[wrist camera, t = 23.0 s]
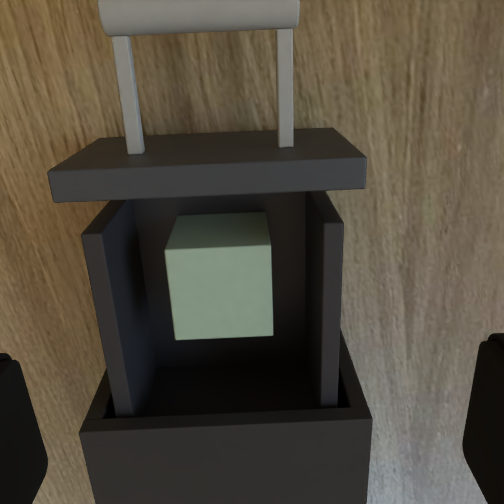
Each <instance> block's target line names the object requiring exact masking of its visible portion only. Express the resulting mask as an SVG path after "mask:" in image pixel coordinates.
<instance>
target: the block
mask: <svg viewBox="0 0 504 504" xmlns="http://www.w3.org/2000/svg"><path fill="white" fill-rule="evenodd" d="M164 254H165V262H166V270H167V278H168V286H169V295H170V303H171V311H172V319H173V327H174V335H175V340H190V339H212V338H234V337H255V336H272V335H273V299H272V263H271V242H270V236H269V229H268V222H267V215H266V212H250V213H228V214H206V215H184V216H177V218H176V221H175V224H174V226H173V229H172V231H171V234H170V237H169V239H168V242H167V245H166V247H165V250H164Z"/></svg>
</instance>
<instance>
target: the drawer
mask: <svg viewBox="0 0 504 504" xmlns="http://www.w3.org/2000/svg"><path fill="white" fill-rule="evenodd" d="M97 6H98V13H99V18H100V22H101V25H102V28H103V30H104V32H105V34H106V35H107V36H112V38H111V40H112V47H113V54H114V61H115V68H116V75H117V82H118V89H119V96H120V103H121V110H122V117H123V124H124V131H125V137H113V138H99V139H97V140H96V141H94V142H93V143H91V144H89V145H88V146H86V147H85V148H83V149H82V150H80V151H79V152H77V153H75V154H74V155H72V156H71V157H69V158H68V159H66V160H64V161H63V162H61V163H60V164H58V165H57V166H55V167H53V168H52V169H50V170H49V171H47V175H48V179H49V184H50V189H51V194H52V198H53V202H55V203H64V202H86V201H108V200H110V201H109V202H108V203H107V205H106V206H105V207H104V208H103V209H102V210H101V212H100V213H99V214H98V215H97V216H96V217H95V219H94V220H93V221H92V222H91V223H90V224H89V226H88V227H87V228H86V229H85V230H84V231H83V233H82V234H81V238H82V243H83V249H84V254H85V259H86V264H87V269H88V274H89V280H90V285H91V290H92V295H93V300H94V305H95V310H96V316H97V321H98V326H99V331H100V336H101V341H102V347H103V352H104V357H105V362H106V367H107V372H108V377H109V383H110V388H111V393H112V398H113V403H114V408H115V414H116V418H134V417H156V416H177V415H199V414H220V413H242V412H263V411H285V410H307V409H328V408H337V401H338V374H339V346H340V318H341V290H342V263H343V235H344V223H343V221H342V219H341V217H340V216H339V214H338V212H337V211H336V209H335V207H334V205H333V204H332V202H331V200H330V198H329V197H328V195H327V193H326V192H325V191H328V190H350V189H364V188H365V186H366V168H367V157H366V156H365V155H364V154H363V153H361V152H360V151H359V150H358V149H357V148H356V147H355V146H353V145H352V144H351V143H350V142H349V141H348V140H347V139H345V138H344V137H343V136H342V135H341V134H340V133H339V132H338V131H336V130H335V129H334V128H312V129H293V30H292V29H291V28H296V27H297V26H298V22H299V8H300V0H97ZM267 29H277V30H276V31H275V36H276V86H277V130H268V131H245V132H223V133H201V134H179V135H157V136H143V132H142V124H141V117H140V109H139V101H138V93H137V85H136V78H135V70H134V62H133V54H132V47H131V39H130V36H133V35H155V34H177V33H200V32H222V31H244V30H267ZM250 212H266V215H267V222H268V229H269V236H270V242H271V263H272V299H273V335H272V336H255V337H234V338H212V339H190V340H175V335H174V327H173V319H172V311H171V303H170V295H169V286H168V278H167V270H166V262H165V254H164V250H165V247H166V245H167V242H168V239H169V237H170V234H171V231H172V229H173V226H174V224H175V221H176V218H177V216H184V215H206V214H228V213H250Z"/></svg>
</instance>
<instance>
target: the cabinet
mask: <svg viewBox="0 0 504 504" xmlns="http://www.w3.org/2000/svg"><path fill="white" fill-rule="evenodd" d="M372 421H373V419H372V416H371V413H370V410H369V407H368V405H367V402H366V399H365V397H364V394H363V391H362V388H361V385H360V382H359V380H358V377H357V374H356V371H355V368H354V365H353V363H352V360H351V357H350V354H349V351H348V348H347V345H346V343H345V340H344V337H343V334H342V331H341V328H340V346H339V374H338V401H337V408H328V409H307V410H285V411H263V412H242V413H220V414H199V415H177V416H156V417H134V418H116V414H115V408H114V403H113V398H112V393H111V388H110V383H109V377H108V372H107V368H106V370H105V372H104V375H103V377H102V380H101V382H100V384H99V387H98V389H97V391H96V394H95V396H94V398H93V401H92V403H91V406H90V408H89V410H88V413H87V415H86V417H85V420H84V421H83V424H82V426H81V428H80V431H79V436H80V440H81V444H82V449H83V453H84V457H85V461H86V465H87V470H88V474H89V478H90V482H91V487H92V491H93V495H94V499H95V503H96V504H366V503H367V489H368V476H369V462H370V448H371V435H372Z"/></svg>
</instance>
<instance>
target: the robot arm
mask: <svg viewBox="0 0 504 504" xmlns="http://www.w3.org/2000/svg"><path fill="white" fill-rule="evenodd" d="M462 445H463V453H464V457H465V459H466V462H467V464H468V466H469V468H470V470H471V472H472V474H473V476H474V477H475V479H476V481H477V483H478V485H479V487H480V489H481V491H482V493H483V495H484V497H485V499H486V501H487V503H488V504H504V333H494V334H491V335H490V336H489V337H488V340H487V341H483V342H481V344H480V346H479V350H478V356H477V361H476V367H475V373H474V379H473V384H472V390H471V396H470V401H469V407H468V413H467V418H466V424H465V430H464V436H463V443H462ZM47 467H48V457H47V453H46V450H45V446H44V443H43V440H42V436H41V433H40V430H39V426H38V423H37V420H36V416H35V413H34V410H33V406H32V403H31V399H30V396H29V393H28V389H27V386H26V383H25V379H24V376H23V373H22V369H21V366H20V364H19V362H18V361H17V360H12V358H11V356H10V355H9V354H6V353H0V504H32V503H33V501H34V499H35V496H36V494H37V492H38V490H39V488H40V486H41V484H42V482H43V479H44V477H45V475H46V472H47Z"/></svg>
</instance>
